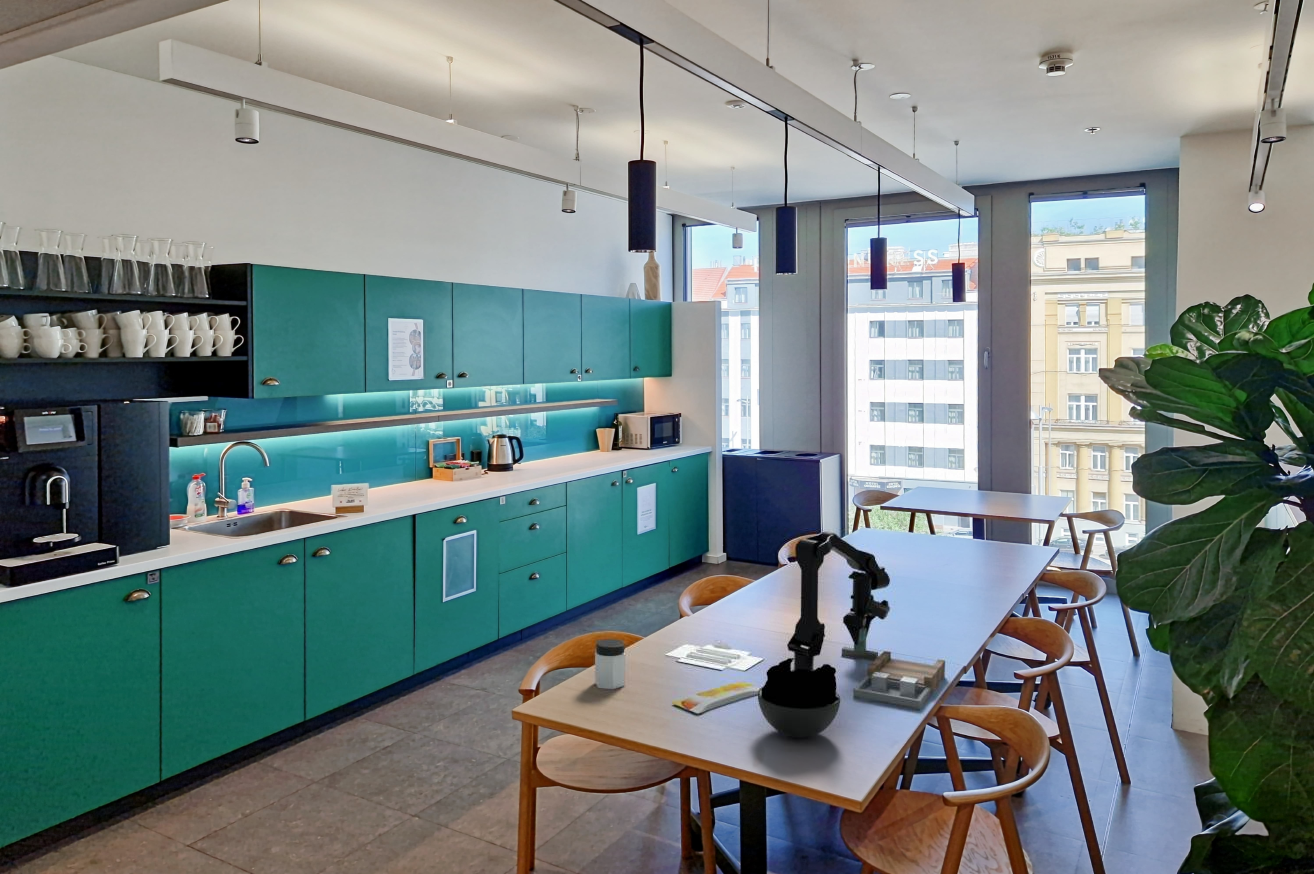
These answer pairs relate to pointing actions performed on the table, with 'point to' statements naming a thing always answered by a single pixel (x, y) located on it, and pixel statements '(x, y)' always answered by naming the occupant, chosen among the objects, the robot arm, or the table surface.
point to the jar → (610, 664)
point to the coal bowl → (799, 699)
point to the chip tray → (891, 694)
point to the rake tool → (860, 649)
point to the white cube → (880, 681)
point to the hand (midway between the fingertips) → (860, 640)
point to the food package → (717, 697)
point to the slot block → (909, 670)
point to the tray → (715, 656)
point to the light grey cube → (909, 686)
